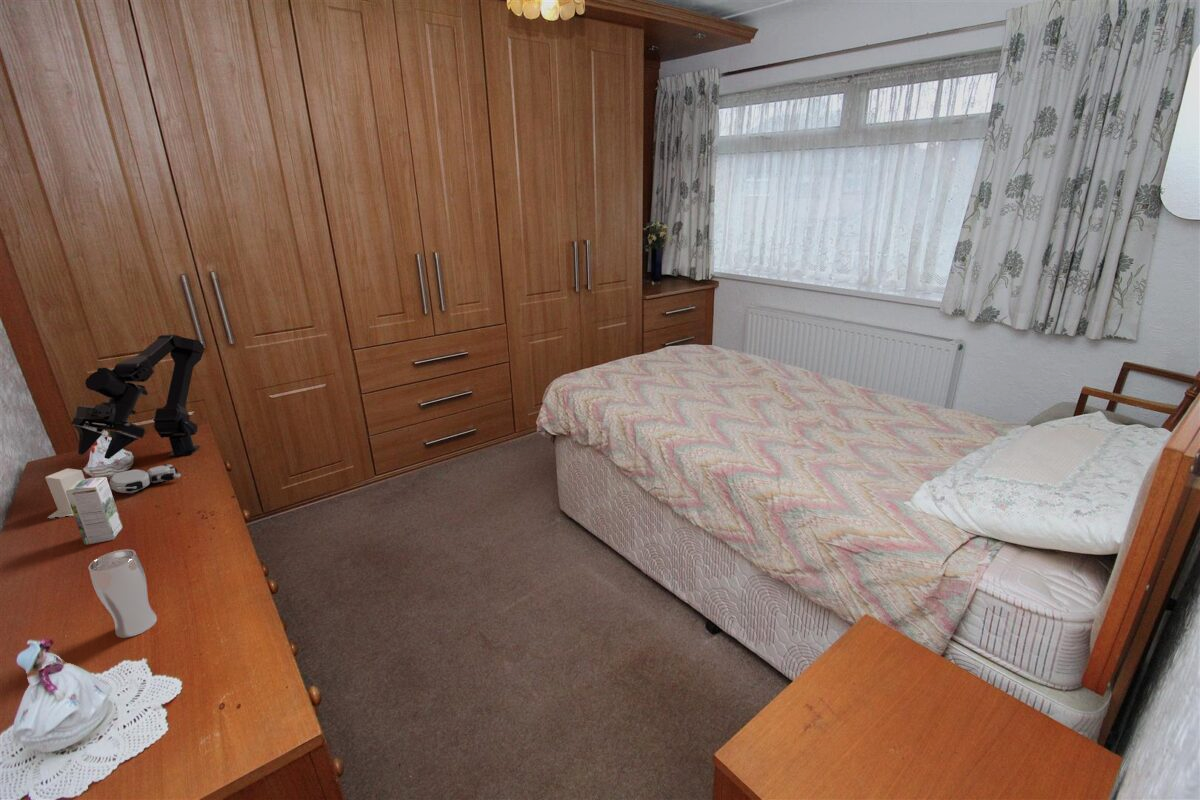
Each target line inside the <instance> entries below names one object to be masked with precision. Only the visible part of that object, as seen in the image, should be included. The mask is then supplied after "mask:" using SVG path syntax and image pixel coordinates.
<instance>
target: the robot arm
mask: <svg viewBox="0 0 1200 800" xmlns="http://www.w3.org/2000/svg"><path fill="white" fill-rule="evenodd" d="M204 351H205V345H204V343H202V342H201V341H200V340H199V339H198V338H197V339H196V338H195V339H192V338H188V337H182V336H180V335H176V334H161V335H159V336H157V338H156V340H154V341H153V342H152V343H151V344H150V345H148V346H147V347H146V348H145V349H143V350H142V351H141V352H140V353H139V354H138V355H136V356H134V357H131V358H130V357H129V358H127V359H124V360H121V361H120V362H119V363H117V364H115V366H114V368H113V369H110V368H108V367H98V368H97V370H96V371H95V372H93V373H91V374H90V375H89V376H88V377H87V378H86V379H85V387H86V388H87V389H88V390H91V391H92V392H95V393H97V394H99V395H101V396H103V397H106V398H108V401H107V402H106V401H105V402H104V401H102V402H101V403H100V404H96V405H94V406H93V405H90V406H89V405H87V406H86V405H77V406H76V410H75V417H73V419H72V420H71V423H70V424H71V425H73V428H74V429H76V431H77V432H78V434H79V437H78V438H79V440H78V450H77V451H78V452H77V454H78V455H82V456H83V455H85V454H86V453H87V452H88V451H89V450H90V448H92V446H93V445H94V444H95V443H96V442H97V441H98V440H99V439H100V438H101V436H102V435H103V433H102V432H103V431H105V430H106V431H107V430H108V431H109V435H110V437H111V439H110V442H109V444H108V446H107V448H106V450H105V454H104V458H105V459H108V460H109V459H111V458H113V456H115V455H116V454H117V453H119V452H121V450H123V449H124V448H126V447H127V446H128V445H130V444H131V443H133V442H135V441H138V440H139V438H140V439H143V438H144V437H145V436H144V435H145V433H146V429H145V427H143V426H140V425H137V424H134V423H131V422H129V421H128V419H129V417H130V416H131V415H135V414H136V412H137V411H136V410H134V408H135V407H136V404H137V402H138V400H139V398H140V396H141V395H143V396H148V391H147V389H146V386H145V385H142V384H134V383H145V382H147V381H148V380H149V379H150V378H151V377H152V375H153V374H154V373H155V371H154V368H155V366H156V365H157V364H158V363H160V362H161V361H162V360H163V359H164V358H165V357H167V355H170V357H171V359H172V361H173V369H172V374H171V379H170V384H169V389H168V391H167V393H168V394H167V398H166V403H165V405H164V406H163V407H162V408H160V407H159V408H156V410H155V414H154V415H155V416H154V419H153V421H152V422H154V423H153V428H154V430H155V431H156V432H157V434H158V435H159V437H160V438H161V439H162V438H168V440H169V444H170V448H171V450H172V452H170V453H169V454H168V457H169V456H171V457H177V456H176V455H183V456H190V454H191V455H192V453H193V452H194V453H195V452H196V451H197V450H199V449H200V448H201V445H195V443H194V441H193V440H194V439H193V436H194V435H196V434H197V432H198V424H196V423H194V422H193V421H192V420H190V413H188V410H187V409H186V407H187V406H186V405H187V402H188V395H189V390H190V386H191V381H192V376H193V370H194V367H195V366H196V365H197V364H198V363H199V362H200V361H201V360H202V357H203V354H204ZM194 453H193V454H194ZM174 455H175V456H174Z"/></svg>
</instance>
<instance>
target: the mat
mask: <svg viewBox="0 0 1200 800" xmlns="http://www.w3.org/2000/svg"><path fill="white" fill-rule="evenodd" d="M65 516H69V517H74V514H73V513H67V512H60V511H58V509H56V511H54V512H53V513H51V514H50V515H48V516H47V519H48V518H49V519H56V518H55V517H59V518H66V517H65Z"/></svg>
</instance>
